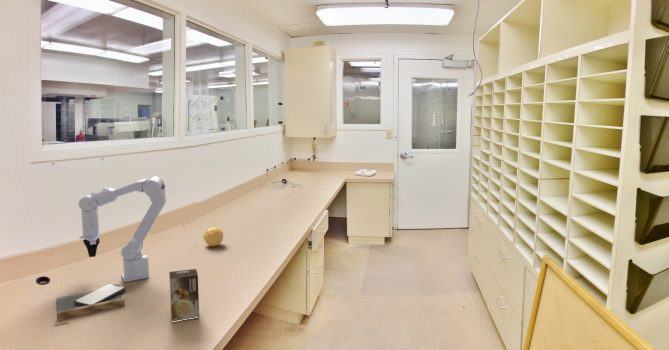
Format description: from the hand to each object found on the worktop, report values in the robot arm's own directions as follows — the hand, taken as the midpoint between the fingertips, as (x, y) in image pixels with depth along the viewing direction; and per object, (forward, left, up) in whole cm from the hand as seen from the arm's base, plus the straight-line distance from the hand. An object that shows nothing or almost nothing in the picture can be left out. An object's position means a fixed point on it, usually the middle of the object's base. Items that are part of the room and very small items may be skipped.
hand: (92, 256), depth 164 cm
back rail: (+3, +30, -10) cm, 32 cm away
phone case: (-1, +20, -10) cm, 23 cm away
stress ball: (-56, -16, -10) cm, 59 cm away
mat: (+3, +21, -10) cm, 23 cm away
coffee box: (-23, +50, -10) cm, 56 cm away
